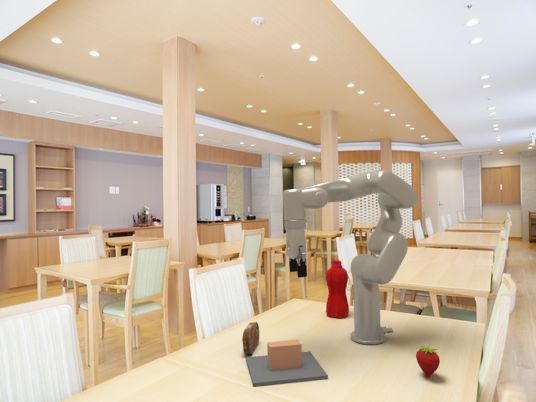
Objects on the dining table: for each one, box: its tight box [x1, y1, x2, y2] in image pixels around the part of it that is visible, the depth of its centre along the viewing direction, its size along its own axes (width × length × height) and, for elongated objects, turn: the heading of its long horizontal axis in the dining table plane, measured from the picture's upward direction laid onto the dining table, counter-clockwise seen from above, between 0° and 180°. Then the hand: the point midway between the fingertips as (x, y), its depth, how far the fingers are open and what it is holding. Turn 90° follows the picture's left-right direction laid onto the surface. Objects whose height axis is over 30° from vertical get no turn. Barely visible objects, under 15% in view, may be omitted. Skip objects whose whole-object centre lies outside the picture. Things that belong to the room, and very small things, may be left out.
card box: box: [266, 339, 303, 370], centre depth 117 cm, size 4×10×7 cm, turn 100°
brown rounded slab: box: [241, 321, 260, 355], centre depth 133 cm, size 15×3×8 cm, turn 168°
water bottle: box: [325, 259, 352, 319], centre depth 169 cm, size 9×11×25 cm
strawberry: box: [415, 343, 441, 378], centre depth 110 cm, size 6×8×10 cm
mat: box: [245, 350, 329, 387], centre depth 117 cm, size 22×18×1 cm
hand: (298, 274), depth 129 cm, fingers open, 9 cm apart
